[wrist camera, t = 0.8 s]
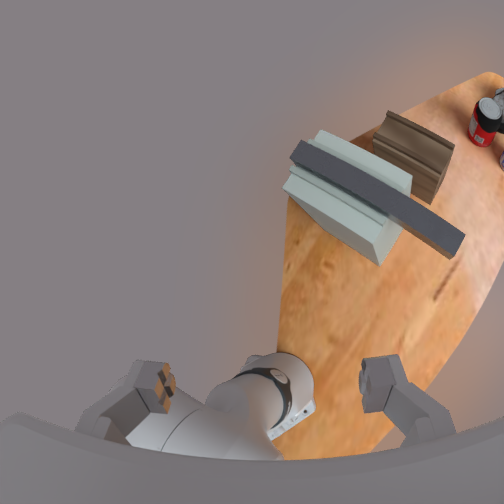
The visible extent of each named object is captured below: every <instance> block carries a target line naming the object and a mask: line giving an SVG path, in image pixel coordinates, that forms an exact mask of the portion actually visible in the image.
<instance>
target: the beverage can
mask: <svg viewBox="0 0 504 504" xmlns="http://www.w3.org/2000/svg"><path fill="white" fill-rule="evenodd" d="M501 121H502V111H501V107H500V106H499V104H498V103H497V102H496V101H495V100H493V99H491V98H488V97H485V98H482V99H481V100H480V101H478V102H477V103H476V105H475V108H474V111H473V115H472V118H471V121H470V124H469V127H468V135H469V137H470V139H471V141H472V142H473V143H474V144H476V145H478V146H480V147H487V146H489V145H490V144H491V142H492V140H493V138H494V136H495V134H496V132H497V130H498V128H499V126H500V124H501Z"/></svg>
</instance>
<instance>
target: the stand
mask: <svg viewBox="0 0 504 504" xmlns="http://www.w3.org/2000/svg"><path fill="white" fill-rule="evenodd" d="M307 143H309V144H311V145H313V146H315V147H317V148H319V149H321V150H323V151H325V152H327V153H329V154H331V155H333V156H335V157H337V158H339V159H341V160H343V161H345V162H347V163H349V164H351V165H353V166H355V167H357V168H359V169H360V170H362V171H364V172H366V173H368V174H370V175H371V176H373V177H375V178H377V179H379V180H380V181H382V182H384V183H386V184H387V185H389V186H391V187H393V188H394V189H396V190H398V191H399V192H401V193H403V194H404V195H406V196H408V197H409V198H410V192H411V184H412V175H410V174H409V173H407V172H405V171H403V170H402V169H400V168H398V167H396V166H394V165H392V164H391V163H389V162H387V161H385V160H383V159H381V158H379V157H378V156H376V155H374V154H372V153H370V152H368V151H366V150H364V149H362V148H360V147H358V146H356V145H354V144H352V143H350V142H348V141H345V140H343V139H341V138H339V137H337V136H335V135H333V134H331V133H328V132H326V131H324V130H320V131H319V133H318V134H317V136H316V137H315V139H314V140H312V139H309V140H308V141H307ZM289 171H290V172H291V173H292V174H291V175H290V177H289V178H288V180H287V181H286V183H285V184H284V186H283V187H282V189H283V190H284V191H285V192H287V193H288V194H289V195H290V196H291V197H292V198H293V199H294V200H295V201H296V202H297V203H298V204H299V205H300V206H301V207H302V208H303V209H304V210H305V211H306V212H307V213H308V214H309V215H310V216H311V217H312V218H313V219H314V220H315V221H316V222H317V223H318V224H319V225H320V226H321V227H322V228H323V229H324V230H325V231H327V232H328V233H330V234H331V235H333V236H334V237H336V238H338V239H339V240H341V241H342V242H344V243H345V244H347V245H348V246H350V247H351V248H353V249H354V250H356V251H357V252H359V253H360V254H362V255H363V256H365V257H366V258H368V259H369V260H371V261H372V262H374V263H375V264H377V265H378V266H379V267H380V266H381V264H382V263H383V261H384V259H385V258H386V256H387V255H388V253H389V252H390V250H391V248H392V247H393V245H394V243H395V242H396V240H397V238H398V237H399V235H400V233H401V232H402V230H403V228H402V227H401V226H399V225H397V224H396V223H394V222H393V221H391V220H390V219H388V218H386V217H385V216H383V215H382V214H380V213H378V212H377V211H375V210H373V209H372V208H370V207H368V206H367V205H365V204H363V203H362V202H360V201H358V200H357V199H355V198H353V197H352V196H350V195H348V194H346V193H345V192H343V191H341V190H339V189H338V188H336V187H334V186H332V185H331V184H329V183H327V182H325V181H323V180H322V179H320V178H318V177H316V176H314V175H312V174H310V173H309V172H307V171H305V170H303V169H301V168H299V167H297V166H296V167H295V166H293V165H292V166H291V167H290V169H289Z"/></svg>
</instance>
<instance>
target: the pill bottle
mask: <svg viewBox="0 0 504 504" xmlns="http://www.w3.org/2000/svg"><path fill="white" fill-rule="evenodd" d="M500 165H501V168H502V169H503V171H504V151H503V153H502V155H501V157H500Z"/></svg>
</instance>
